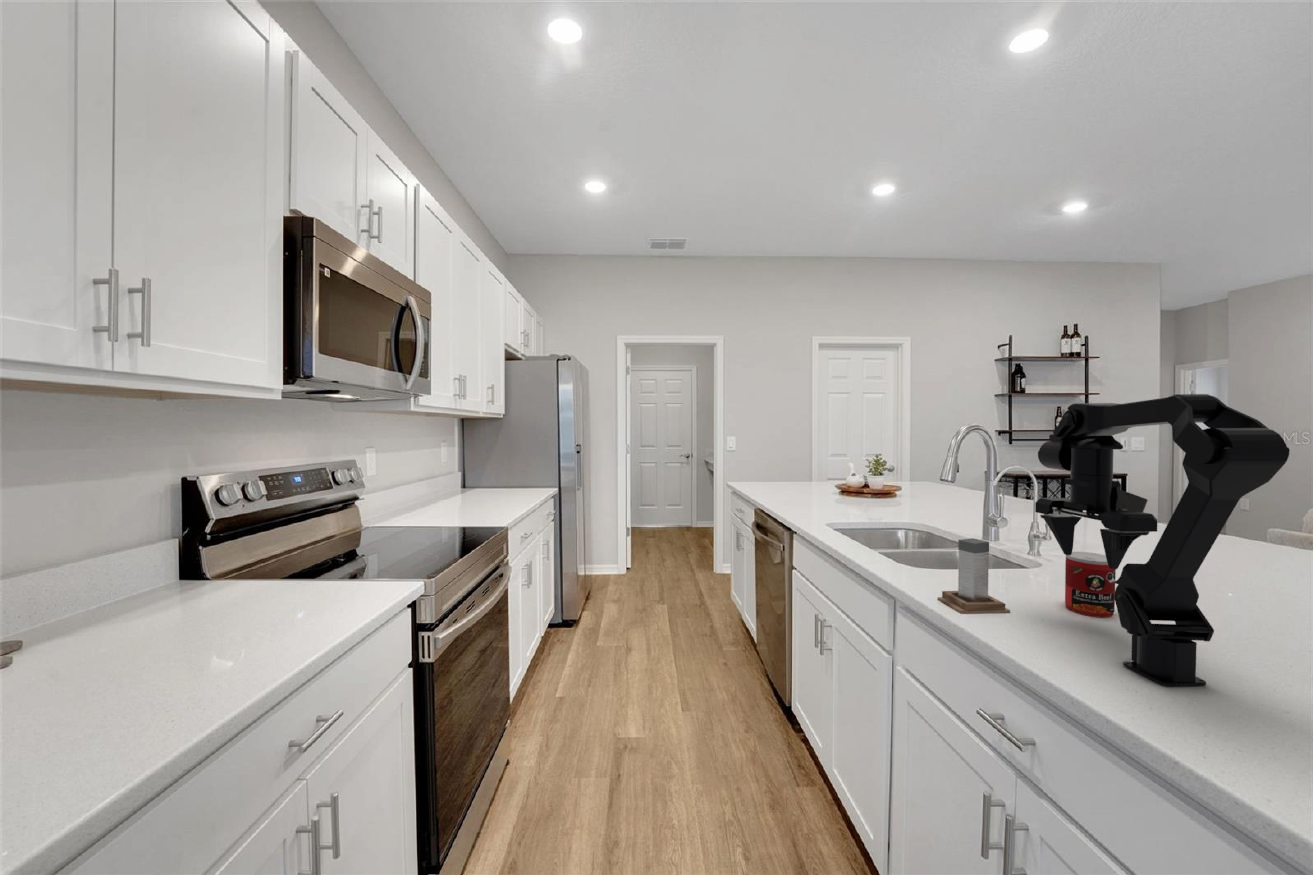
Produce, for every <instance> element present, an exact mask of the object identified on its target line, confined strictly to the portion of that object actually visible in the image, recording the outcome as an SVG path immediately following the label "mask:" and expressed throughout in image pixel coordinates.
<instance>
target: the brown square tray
mask: <svg viewBox="0 0 1313 875" xmlns="http://www.w3.org/2000/svg"><path fill="white" fill-rule="evenodd" d="M937 600H938V601H939V602H941V603H943V604H944V605H946V606H947V607H949V608H950V609H952V610H954V611H956V612H957V613H959V614H1006V613H1007V614H1010V613H1011V610H1010V609H1009V608H1007V607H1006V603H1005V602H1003V601H1001V600H999V599H997V598H994V596H993V597H992V596H990V595H989V594H988V602H966V601H964V600H962V599H960V598H958V590H942V591H941V596H938V597H937Z"/></svg>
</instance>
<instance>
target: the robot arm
mask: <svg viewBox="0 0 1313 875" xmlns="http://www.w3.org/2000/svg"><path fill="white" fill-rule="evenodd" d="M1198 423H1201V424H1202V423H1203V424H1204V426H1206V427H1207V428H1205V429H1202V428H1201V427H1200V426H1199V425H1198ZM1159 425H1171V429H1172V430H1171V433H1172V441H1173V442H1174V443H1175V444H1176V445H1177V446H1178V447H1179V448H1180V449H1181V450H1182V451H1183V453H1184V457H1183V459H1182V468H1183V469H1184V473H1185V475H1186V478H1187V480H1188V483H1187V486H1186V488H1185V490H1184V491H1183V494H1182V495H1181V497H1180V499H1179V502H1178V503H1177V505H1176V507H1175V510H1174V511H1173V513H1172V515H1171V517H1170V519H1169V521H1168V523H1167V525H1166V526H1165V529H1164V530H1163V532H1162V535H1161V536H1160V538H1159V540H1158V542H1157V544H1156V545H1155V548H1154V549H1153V551H1152V554H1151V555H1150V557H1149V559H1148V560H1147V562H1146V563H1129V562H1128V563H1126V564H1125V565H1124V566H1123V567H1122V570H1121V573H1120V576H1119V577H1118V579H1117V580H1116V579H1115V585H1116V584H1117V585H1116V586H1115V596H1114V597H1115V605H1116V610H1117V614H1118V618H1119V621H1120V627H1121V628H1122V629H1125V630H1126V633H1127V634H1130V635H1131V656H1130V657H1131V658H1130V659H1131V661H1122V663H1123V664H1122V666H1124V667H1126V668H1127V669H1129V670H1131V671H1134V672H1136V673H1138V674H1140V675H1141V676H1144V677H1146V678H1147V679H1149V680H1152V681H1154V682H1156V683H1157V684H1160V685H1162V686H1165V687H1170V686H1171V687H1172V686H1173V687H1175V686H1207V681H1206V680H1204V679H1202V678H1200V677H1197V674H1196V673H1197V642H1196V641H1198V642H1199V641H1203V642H1211V640H1212V637H1213V635H1214V632H1215V630H1214V628H1213V626H1212V624H1211V623H1210V622H1209V620H1208V619H1207V618H1206V616H1205V615H1204V613H1203V612H1202V610H1201V609H1200V608H1199V606H1198V601H1199V598H1200V594H1199V592H1198V589H1197V587H1196V584H1195V581H1194V579H1195V576H1196V574H1197V573H1198V571H1199V569H1200V567H1201V566H1202V564H1203V562H1204V561H1205V559H1206V557H1207V556H1208V554H1209V552H1210V551H1211V549H1212V547H1213V545H1214V544H1215V542H1216V540H1217V539H1218V537H1219V536H1220V534H1221V532H1222V530H1223V529H1224V527H1225V525H1226V523H1227V522H1228V520H1229V519H1230V516H1231V515H1232V513H1233V511H1234V509H1235V508H1236V506H1237V504H1238V503H1239V501H1240V499H1242V498H1243V497H1244V496H1246V495H1248V494H1249V493H1251V492H1252V491H1253V492H1254V490H1256V489H1258V488H1260V487H1262V486H1264V485H1265V484H1267V483H1269V482H1270V481H1271V480H1272V479H1273V478H1274V476H1275V475H1277V473H1278V472H1279V471H1280V470H1281V469H1282V468H1283V466H1285V464H1286V463H1287V461H1288V459H1289V457H1290V448H1289V447H1288V446H1287V443H1286V440H1284V439H1283V437H1282V436H1281V434H1280V433H1278V432H1276V430H1273V429H1271V428H1269V427H1268V426H1266V425H1265V424H1263V422H1261V421H1260V420H1258V419H1256V418H1254V417H1252V416H1250V415H1247V414H1245V413H1243V412H1241V411H1239V410H1236V409H1234V408H1231V407H1229V406H1228V405H1226V404H1225V403H1224V402H1222V401H1221V400H1220V399H1219V398H1218V397H1216V396H1214V395H1210V394H1208V393H1197V394H1196V393H1191V394H1190V393H1189V394H1188V393H1187V394H1186V393H1185V394H1183V393H1180V394H1179V393H1177V394H1173V395H1170V396H1167V397H1161V398H1154V399H1146V400H1140V401H1134V402H1133V401H1132V402H1126V403H1116V402H1115V403H1113V402H1108V403H1107V402H1102V403H1101V402H1096V403H1091V402H1089V403H1086V402H1085V403H1079V402H1078V403H1076V402H1075V403H1072V404H1069V405H1068V407H1067V410H1065V412H1064V413H1063V415H1062V417H1061V419H1060V421H1059V422H1058V424H1057V425H1056V427H1055V429H1054V430H1053V431H1052V433H1053V434H1049V436H1048V437H1049V438H1048V439H1049V440H1047V441H1046V442H1043V443H1042V444H1041V446H1039V450H1038V451H1037V458H1038V461H1039V462H1040V464H1041V465H1042V466H1044V467H1045V468H1047V469H1051V470H1059V471H1065V472H1066V471H1067V472H1070V478H1069V477H1067V478H1063V482H1064V485H1069V486H1070V487H1069V488H1070V490H1069V491H1070V492H1069V493H1070V494H1069V498H1066V497H1039V499H1038V500H1036V502H1035V505H1034V506H1035V507H1034V508H1035V513H1038V514H1040V519H1043V520H1044V522H1045V523H1046V525H1047V526H1048V528H1049V530H1050V531H1051V533H1052V534H1053V536H1054V538H1055V540H1056V542H1057V543H1058V546H1059V547H1060V549H1061V551H1062V553H1063V554H1064V555H1065V556H1066V555H1071V554H1072V552H1073V548H1074V540H1075V527H1076V525H1077V524H1078V523H1079V522H1080V521H1081V519H1083V518H1085V519H1090V520H1091V519H1092V520H1096V521H1100V523H1101V524H1102V526H1103V527H1104V528H1099V529H1100V530H1099V532H1100V535H1101V537H1100V538H1101V541H1102V544H1103V550H1104V553H1105V554H1104V555H1106V559H1107V563H1108V566H1109V568H1110V569H1116V570H1118V569H1119V566H1120V565H1121V562H1122V561H1123V559H1124V557H1125V556H1126V553H1127V551H1128V550H1129V548H1130V547H1131V545H1132V544H1133V542H1134V541H1135V540H1136V539H1138V538H1141V536H1148V535H1149V534H1150V532H1158V519H1157V517H1156V516H1155V515H1154V514H1153V513H1149V512H1144V511H1145V508H1146V505H1147V503H1148V499H1147V498H1144V497H1142V496H1140V495H1137V494H1135V493H1131V492H1127V491H1125V490H1122V484H1121V483H1120V480H1114V450H1123V449H1124V445H1123V444H1122V443H1121V442H1120V441H1118V440H1117V439H1116V438H1115V437H1114V435H1118V434H1121V433H1126V432H1127V431H1128V430H1129V429H1131V428H1134V427H1135V428H1136V427H1137V428H1138V427H1147V426H1159ZM1151 621H1162V622H1166V621H1167V622H1174V623H1173V624H1172V623H1168V624H1167V623H1152V622H1151Z"/></svg>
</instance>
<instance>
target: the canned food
mask: <svg viewBox="0 0 1313 875" xmlns="http://www.w3.org/2000/svg"><path fill="white" fill-rule="evenodd" d="M1064 569H1065V573H1064V574H1065V576H1064V580H1065V581H1064V582H1065V584H1064V604H1065V606H1066V608H1067V609H1068V610H1069V609H1070V610H1069V611H1071V612H1073V611H1074V613H1076V614H1079V613H1080V614H1079V615H1083V614H1085V615H1084V616H1087V615H1089V616H1088V617H1093V616H1094V617H1095V618H1109V617H1110V618H1111V617H1112V616H1113V615H1114V614H1115V605H1116V602H1115V597H1114V596H1115V590H1116V583H1115V581H1116V577H1117V576H1116V573H1117V572H1116V571H1117V569H1110V568H1109V566H1108V563H1107V559H1106V555H1105V554H1101V553H1096V552H1088V551H1072V554H1071V555H1065V568H1064Z"/></svg>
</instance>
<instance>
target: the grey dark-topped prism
mask: <svg viewBox="0 0 1313 875" xmlns="http://www.w3.org/2000/svg"><path fill="white" fill-rule="evenodd" d="M989 554H990V541H987V540H983V539H978V538H973V537H972V538H963V539H958V571H957V572H958V573H957V574H958V578H957V579H958V583H957V584H958V585H957V586H958V587H957V588H958V589H957V591H958V598H960V599H962V600H964V601H966V602H988V595H989V565H990V564H989V561H990V560H989V559H990V558H989V557H990V556H989Z"/></svg>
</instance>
